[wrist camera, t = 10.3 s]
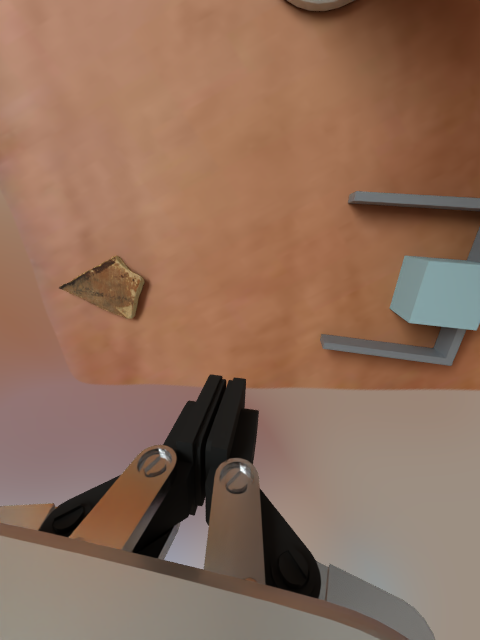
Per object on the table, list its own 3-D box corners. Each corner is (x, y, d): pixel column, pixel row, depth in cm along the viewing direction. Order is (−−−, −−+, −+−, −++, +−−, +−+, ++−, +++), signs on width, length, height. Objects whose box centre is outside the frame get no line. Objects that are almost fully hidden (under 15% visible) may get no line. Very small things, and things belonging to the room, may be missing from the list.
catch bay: (349, 194, 26) (355, 191, 24) (497, 203, 24) (520, 200, 22) (320, 339, 32) (323, 348, 30) (438, 355, 30) (451, 365, 28)
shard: (66, 285, 36) (56, 288, 34) (75, 233, 33) (64, 234, 31) (136, 318, 36) (128, 322, 34) (150, 269, 33) (143, 271, 31)
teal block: (404, 255, 27) (428, 260, 23) (465, 260, 27) (503, 266, 22) (389, 308, 29) (408, 322, 25) (445, 314, 29) (476, 330, 24)
